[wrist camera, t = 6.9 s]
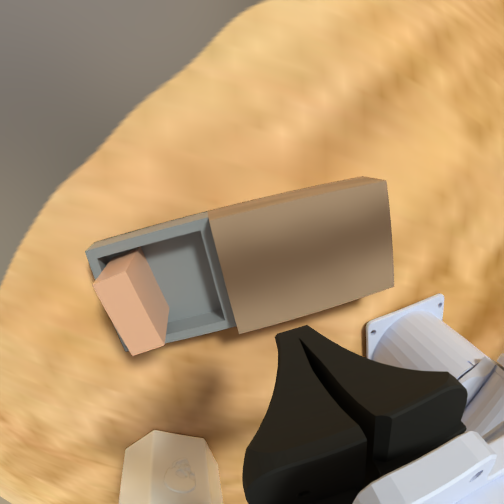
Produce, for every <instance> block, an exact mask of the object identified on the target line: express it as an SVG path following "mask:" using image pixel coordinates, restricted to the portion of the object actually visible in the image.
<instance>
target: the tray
mask: <svg viewBox="0 0 504 504" xmlns="http://www.w3.org/2000/svg"><path fill="white" fill-rule="evenodd" d="M140 246H141V249H142V251H143V253H144V255H145V257H146V260H147V262H148V264H149V266H150V268H151V271H152V273H153V275H154V277H155V279H156V281H157V283H158V285H159V287H160V290H161V292H162V294H163V296H164V298H165V300H166V302H167V304H168V306H169V315H168V323H167V330H166V338H165V343H169V342H174V341H178V340H182V339H187V338H191V337H195V336H199V335H203V334H207V333H211V332H216V331H220V330H223V329H227V328H231V327H235V326H237V325H236V321H235V318H234V314H233V310H232V307H231V303H230V299H229V296H228V292H227V288H226V284H225V281H224V277H223V273H222V269H221V265H220V262H219V258H218V254H217V250H216V246H215V242H214V238H213V234H212V230H211V226H210V222H209V218H208V213H207V211H206V212H202V213H198V214H194V215H190V216H187V217H183V218H179V219H175V220H172V221H168V222H164V223H160V224H157V225H153V226H150V227H146V228H142V229H139V230H135V231H132V232H128V233H125V234H121V235H118V236H114V237H111V238H108V239H104V240H101V241H97V242H94V243H93V244H92V245H91V246H90V247H89V248H88V249H87V250H86V251H85V253H86V256H87V259H88V261H89V264H90V267H91V270H92V273H93V275H94V278H95V280H96V279H97V278H98V276H99V275H100V274H101V272H102V271H103V270H104V268H105V267H106V266H107V264H108V263H109V262H110V260H111V259H112V258H113V257H115V256H117V255H120V254H122V253H124V252H127V251H129V250H132V249H134V248H136V247H140ZM112 323H113V322H112ZM113 325H114V324H113ZM114 327H115V326H114ZM115 330H116V332H117V334H118V336H119V339H120V341H121V343H122V345H123V347H124V349H125V351H126V352H127V351H129V349H128V348H127V346H126V345H125V343H124V341H123V340H122V338H121V336H120V335H119V333H118V331H117V329H116V328H115Z"/></svg>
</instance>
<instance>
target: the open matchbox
mask: <svg viewBox="0 0 504 504" xmlns="http://www.w3.org/2000/svg"><path fill="white" fill-rule="evenodd" d="M207 213H208V218H209V222H210V226H211V230H212V234H213V238H214V242H215V246H216V250H217V254H218V258H219V262H220V265H221V269H222V273H223V277H224V281H225V284H226V288H227V292H228V296H229V299H230V303H231V307H232V310H233V314H234V318H235V321H236V325H237V328H238V332H239V334H242V333H246V332H249V331H253V330H257V329H261V328H264V327H268V326H271V325H275V324H278V323H282V322H285V321H289V320H292V319H296V318H299V317H303V316H306V315H309V314H312V313H316V312H319V311H322V310H325V309H329V308H332V307H335V306H338V305H341V304H344V303H347V302H350V301H353V300H356V299H359V298H362V297H365V296H368V295H371V294H374V293H377V292H380V291H383V290H386V289H389V288H391V287H394V266H393V247H392V232H391V220H390V209H389V199H388V190H387V182H386V180H380V179H375V178H369V177H363V176H362V177H357V178H352V179H347V180H342V181H337V182H332V183H327V184H322V185H318V186H313V187H308V188H304V189H299V190H295V191H290V192H286V193H281V194H277V195H272V196H268V197H264V198H259V199H255V200H251V201H247V202H242V203H238V204H234V205H230V206H226V207H222V208H218V209H214V210H210V211H207Z"/></svg>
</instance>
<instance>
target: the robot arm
mask: <svg viewBox="0 0 504 504" xmlns="http://www.w3.org/2000/svg"><path fill="white" fill-rule="evenodd" d="M438 304H439V305H438ZM443 307H444V296H443V295H442V294H440V293H439V294H436V295H434V296H432V297H429V298H427V299H425V300H422V301H420V302H417V303H415V304H412V305H410V306H407V307H405V308H402V309H400V310H397V311H395V312H392V313H389V314H387V315H384V316H381V317H379V318H376V319H373V320H371V321H369V322H368V323H367V325H366V356H367V358H365V357H362V356H360V355H357V354H355V353H353V352H351V351H349V350H347V349H345V348H343V347H341V346H339V345H338V344H336V343H334V342H332V341H331V340H329V339H328V338H326V337H324V336H323V335H321V334H320V333H318V332H317V331H315V330H314V329H312V328H311V327H309V326H308V325H305V326H302V327H299V328H296V329H292V330H289V331H285V332H282V333H278V334H277V335H276V336H275V339H276V344H277V348H278V369H277V377H276V383H275V387H274V391H273V395H272V399H271V402H270V404H269V407H268V410H267V413H266V415H265V417H264V419H263V421H262V423H261V425H260V427H259V430H258V431H257V433H256V435H255V436H254V438H253V439H252V441H251V443H250V444H249V446H248V447H247V449H246V453H245V458H244V465H243V488H244V492H245V496H246V500H247V502H248V504H504V354H500V356H499V358H498V359H497V361H498V362H499V363H500V364H501V365H502V366H501V365H500V364H498V363H497V362H495V361H494V360H492V359H491V358H489V357H488V356H486V355H485V354H484V353H482V352H481V351H480V350H479V349H477V348H476V347H475V346H474V345H472V344H471V343H470V342H469V341H467V340H466V339H465V338H463V337H462V336H461V335H460V334H458V333H457V332H456V331H454V330H453V329H452V328H451V327H449V326H448V325H447V324H445V323H444V322H443V321H442V318H443ZM373 330H374V331H373ZM371 331H373V332H372V333H371Z"/></svg>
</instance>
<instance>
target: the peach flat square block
mask: <svg viewBox="0 0 504 504" xmlns="http://www.w3.org/2000/svg"><path fill="white" fill-rule="evenodd" d="M93 287H94V289H95V291H96V293H97V295H98V297H99V299H100V301H101V303H102V304H103V306H104V308H105V310H106V312H107V314H108V315H109V317H110V319H111V321H112V322H113V324H114V326H115V328H116V329H117V331H118V333H119V335H120V336H121V338H122V340H123V341H124V343H125V345H126V346H127V348H128V349H129V351H130V353H131V354H132V356H134V355H137V354H140V353H143V352H146V351H149V350H152V349H155V348H158V347H161V346H164V345H165V338H166V330H167V323H168V315H169V306H168V304H167V302H166V300H165V298H164V296H163V294H162V292H161V290H160V287H159V285H158V283H157V281H156V279H155V277H154V275H153V273H152V271H151V268H150V266H149V264H148V262H147V260H146V257H145V255H144V253H143V251H142V249H141V246H140V247H136V248H134V249H132V250H129V251H127V252H124V253H122V254H120V255H117V256H115V257H113V258H112V259H111V260H110V262H109V263H108V264H107V266H106V267H105V268H104V270H103V271H102V272H101V274H100V275H99V276H98V278H97V279H96V280H95V282H94V283H93Z"/></svg>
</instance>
